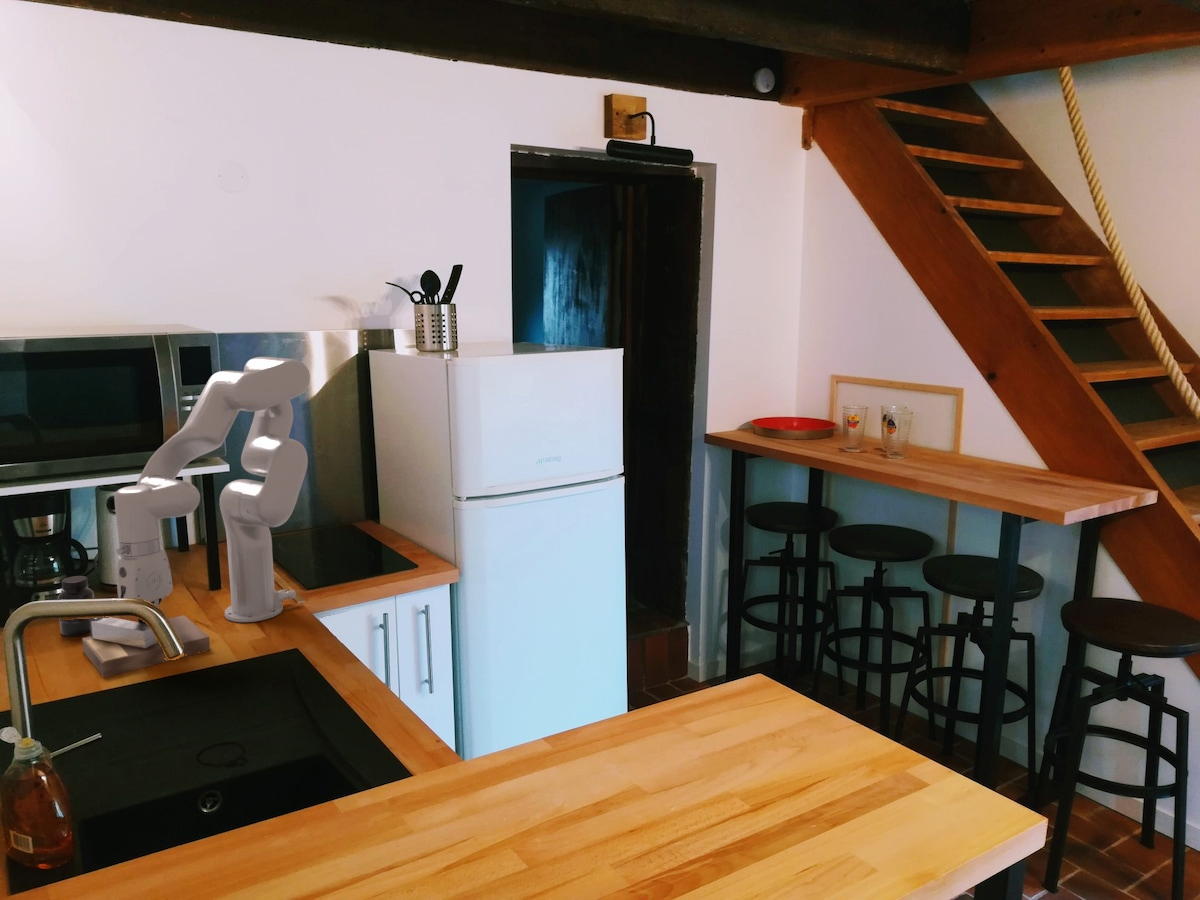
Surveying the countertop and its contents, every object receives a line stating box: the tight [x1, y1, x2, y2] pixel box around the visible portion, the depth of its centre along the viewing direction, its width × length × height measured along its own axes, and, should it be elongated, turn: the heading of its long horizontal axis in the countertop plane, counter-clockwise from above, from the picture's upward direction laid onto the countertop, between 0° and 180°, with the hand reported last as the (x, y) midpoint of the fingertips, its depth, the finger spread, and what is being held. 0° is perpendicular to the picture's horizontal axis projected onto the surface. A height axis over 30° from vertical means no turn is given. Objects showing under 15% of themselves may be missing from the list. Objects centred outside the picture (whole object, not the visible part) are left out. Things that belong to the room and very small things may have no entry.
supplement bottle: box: [57, 575, 95, 637], centre depth 193 cm, size 7×7×12 cm
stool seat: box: [81, 614, 211, 678], centre depth 183 cm, size 20×16×3 cm
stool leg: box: [89, 616, 158, 648], centre depth 180 cm, size 16×3×4 cm, turn 70°
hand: (148, 631), depth 183 cm, fingers closed
